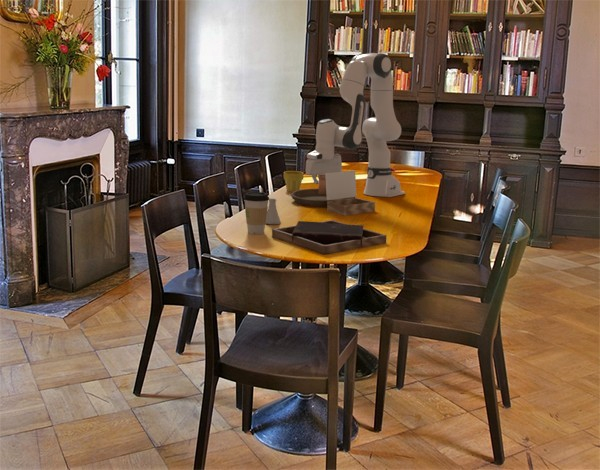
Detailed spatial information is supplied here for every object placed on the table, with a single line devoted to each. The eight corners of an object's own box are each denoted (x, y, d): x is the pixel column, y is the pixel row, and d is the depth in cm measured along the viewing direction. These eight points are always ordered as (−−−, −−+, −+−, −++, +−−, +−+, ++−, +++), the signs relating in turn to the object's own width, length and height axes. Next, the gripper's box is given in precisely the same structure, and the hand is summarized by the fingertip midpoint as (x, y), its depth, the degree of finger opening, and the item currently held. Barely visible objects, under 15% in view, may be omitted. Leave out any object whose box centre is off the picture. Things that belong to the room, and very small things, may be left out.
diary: (361, 249, 237) (362, 235, 236) (291, 245, 240) (292, 232, 239) (363, 236, 255) (363, 223, 254) (298, 232, 258) (298, 220, 257)
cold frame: (352, 206, 312) (353, 182, 309) (374, 212, 301) (376, 186, 298) (323, 210, 301) (324, 185, 298) (345, 216, 290) (346, 190, 287)
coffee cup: (253, 228, 262) (254, 190, 259) (273, 232, 257) (274, 193, 254) (237, 232, 255) (238, 193, 251) (258, 236, 249) (258, 197, 246)
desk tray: (332, 227, 268) (332, 220, 267) (386, 243, 245) (386, 235, 245) (272, 236, 250) (272, 229, 249) (324, 254, 227) (324, 246, 226)
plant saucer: (309, 211, 300) (309, 201, 299) (279, 199, 326) (279, 190, 325) (367, 206, 314) (368, 197, 313) (334, 195, 341) (334, 186, 339)
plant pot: (300, 193, 343) (301, 174, 340) (281, 191, 345) (281, 173, 342) (304, 189, 352) (305, 171, 350) (285, 188, 354) (286, 170, 352)
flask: (262, 221, 276) (263, 197, 273) (280, 221, 276) (280, 197, 274) (263, 225, 269) (264, 200, 266) (281, 225, 269) (282, 200, 267)
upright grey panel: (356, 196, 308) (355, 196, 309) (355, 170, 307) (354, 170, 307) (327, 200, 297) (326, 200, 298) (326, 173, 296) (325, 173, 296)
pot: (323, 192, 323) (324, 173, 321) (331, 194, 319) (332, 175, 317) (314, 193, 320) (315, 174, 318) (322, 195, 315) (323, 176, 313)
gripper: (336, 152, 323) (335, 180, 327) (303, 154, 311) (303, 184, 314) (345, 153, 319) (344, 182, 322) (312, 156, 306) (311, 186, 309)
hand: (323, 183), depth 318 cm, fingers open, 8 cm apart
